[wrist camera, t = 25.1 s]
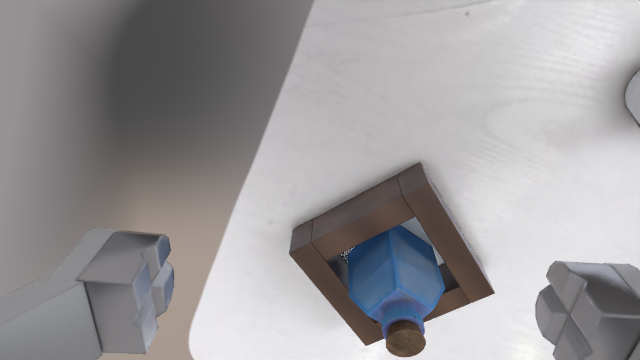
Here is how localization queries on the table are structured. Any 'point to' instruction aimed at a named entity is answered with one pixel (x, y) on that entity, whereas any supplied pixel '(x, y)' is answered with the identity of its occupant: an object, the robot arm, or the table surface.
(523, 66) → the table surface
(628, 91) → the cup
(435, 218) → the stand
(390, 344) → the perfume bottle
